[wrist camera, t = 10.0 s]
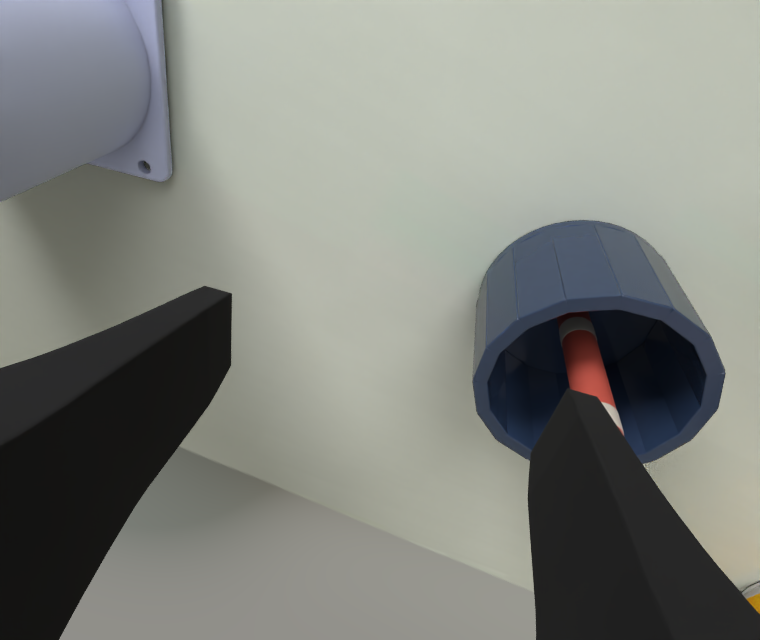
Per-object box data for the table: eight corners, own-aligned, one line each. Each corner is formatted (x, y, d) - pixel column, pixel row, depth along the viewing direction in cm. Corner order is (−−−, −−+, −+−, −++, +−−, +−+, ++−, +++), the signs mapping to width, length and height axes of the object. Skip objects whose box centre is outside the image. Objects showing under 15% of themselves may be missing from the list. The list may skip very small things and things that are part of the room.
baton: (550, 318, 20) (576, 476, 14) (562, 293, 20) (596, 448, 13) (580, 326, 20) (620, 488, 14) (593, 301, 20) (642, 461, 13)
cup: (457, 348, 23) (448, 439, 18) (511, 198, 18) (517, 268, 14) (616, 391, 22) (647, 493, 18) (710, 248, 18) (781, 336, 14)
